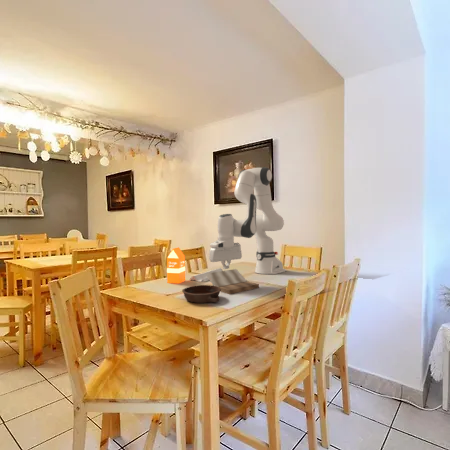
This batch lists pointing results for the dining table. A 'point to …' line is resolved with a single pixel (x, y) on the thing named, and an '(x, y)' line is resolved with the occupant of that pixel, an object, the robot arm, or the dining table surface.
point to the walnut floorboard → (238, 287)
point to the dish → (202, 293)
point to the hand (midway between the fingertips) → (226, 268)
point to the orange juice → (176, 266)
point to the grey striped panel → (225, 277)
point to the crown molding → (204, 275)
